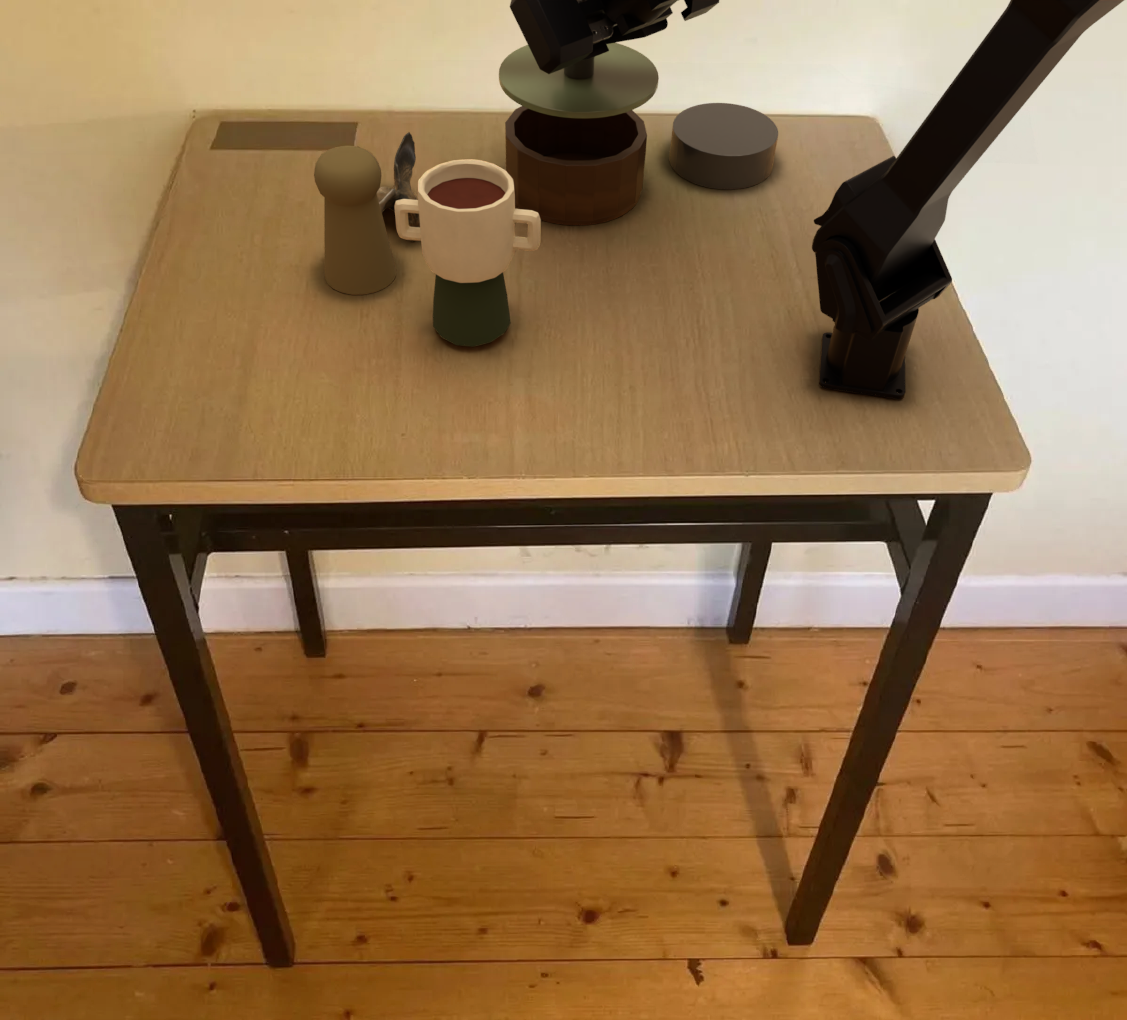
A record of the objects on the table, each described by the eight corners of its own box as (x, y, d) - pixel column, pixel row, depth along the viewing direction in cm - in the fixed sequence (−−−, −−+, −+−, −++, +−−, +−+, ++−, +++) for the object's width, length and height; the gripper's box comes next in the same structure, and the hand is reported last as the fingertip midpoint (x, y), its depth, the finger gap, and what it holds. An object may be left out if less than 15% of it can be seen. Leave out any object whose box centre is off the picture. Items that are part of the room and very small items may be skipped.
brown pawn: (402, 255, 96) (391, 138, 88) (388, 297, 92) (375, 178, 84) (334, 250, 97) (316, 132, 89) (316, 291, 93) (296, 172, 85)
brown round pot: (648, 224, 101) (653, 164, 96) (508, 226, 100) (507, 166, 96) (633, 152, 109) (637, 93, 105) (504, 153, 108) (503, 94, 104)
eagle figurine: (472, 216, 99) (431, 152, 103) (433, 172, 93) (390, 106, 96) (405, 268, 100) (367, 203, 104) (362, 229, 94) (323, 161, 98)
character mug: (544, 307, 92) (547, 164, 83) (533, 362, 87) (534, 218, 78) (414, 295, 93) (402, 152, 83) (395, 349, 88) (380, 204, 78)
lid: (666, 124, 93) (674, 51, 88) (500, 126, 92) (499, 52, 88) (647, 49, 102) (653, -20, 98) (497, 50, 102) (495, -20, 97)
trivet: (768, 195, 105) (774, 161, 102) (662, 182, 106) (666, 148, 103) (775, 142, 111) (781, 109, 109) (676, 130, 112) (679, 97, 110)
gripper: (712, -179, 85) (606, -70, 99) (525, -128, 77) (437, -15, 90) (774, -40, 87) (661, 49, 101) (598, 26, 78) (501, 114, 92)
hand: (568, 46), depth 96 cm, fingers closed on lid, 2 cm apart
